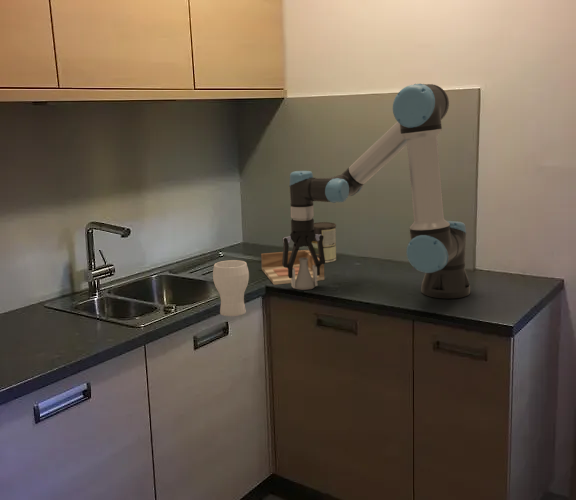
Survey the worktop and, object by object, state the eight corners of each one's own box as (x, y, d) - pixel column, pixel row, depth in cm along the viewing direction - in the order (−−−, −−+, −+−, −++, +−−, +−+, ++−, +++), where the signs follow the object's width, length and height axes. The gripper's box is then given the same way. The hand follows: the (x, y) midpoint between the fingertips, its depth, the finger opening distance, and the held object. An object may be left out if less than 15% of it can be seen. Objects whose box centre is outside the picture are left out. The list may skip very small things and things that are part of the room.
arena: (324, 279, 231) (324, 262, 229) (273, 284, 227) (273, 267, 225) (308, 265, 252) (307, 249, 250) (261, 269, 248) (261, 253, 246)
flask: (315, 284, 225) (315, 255, 223) (314, 290, 218) (313, 261, 216) (294, 284, 226) (293, 256, 224) (292, 290, 219) (291, 261, 217)
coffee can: (309, 262, 256) (308, 227, 253) (311, 256, 266) (310, 222, 263) (335, 262, 254) (334, 226, 251) (337, 256, 264) (336, 222, 261)
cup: (228, 305, 205) (225, 258, 202) (257, 309, 200) (255, 261, 197) (208, 315, 196) (204, 266, 193) (237, 320, 191) (235, 269, 188)
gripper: (328, 214, 223) (329, 280, 228) (270, 218, 218) (273, 285, 223) (334, 218, 215) (335, 286, 220) (275, 222, 211) (277, 291, 216)
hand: (304, 285), depth 222 cm, fingers closed on flask, 7 cm apart
